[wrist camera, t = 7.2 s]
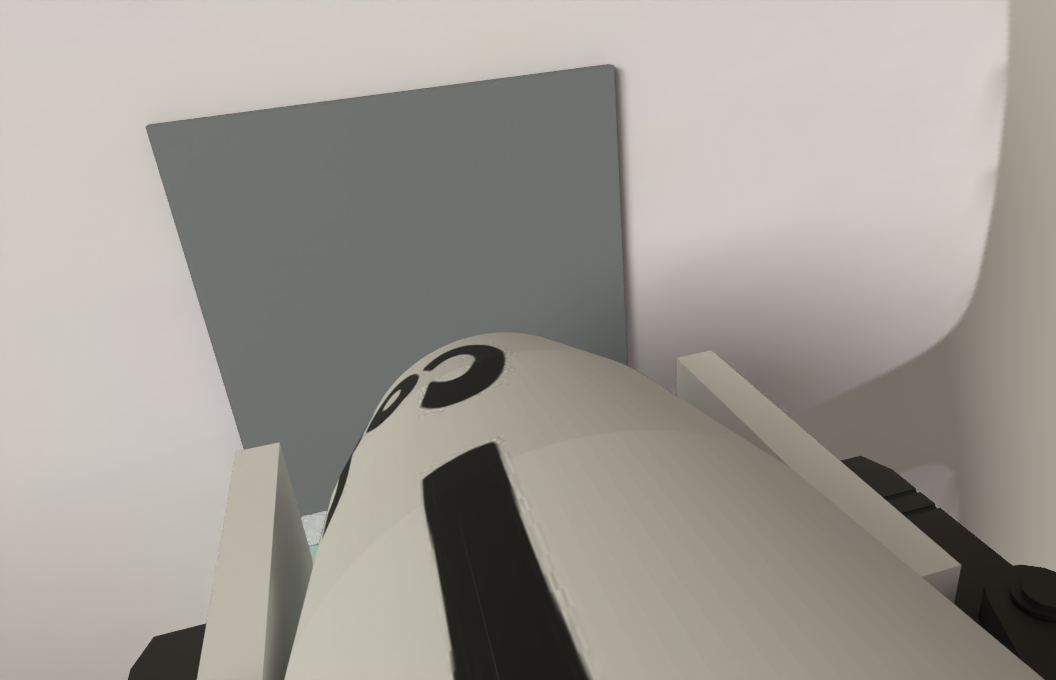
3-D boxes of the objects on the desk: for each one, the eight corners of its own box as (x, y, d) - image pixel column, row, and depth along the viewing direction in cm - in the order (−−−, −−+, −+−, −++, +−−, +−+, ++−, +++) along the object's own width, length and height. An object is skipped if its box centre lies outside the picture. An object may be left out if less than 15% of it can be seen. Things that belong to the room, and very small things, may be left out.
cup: (418, 167, 12) (676, 582, 3) (760, 365, 16) (1338, 835, 7) (202, 546, 14) (10, 1462, 5) (551, 652, 17) (793, 1321, 9)
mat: (267, 516, 24) (266, 524, 23) (148, 124, 19) (145, 127, 18) (626, 432, 26) (630, 438, 26) (608, 64, 21) (614, 65, 21)
